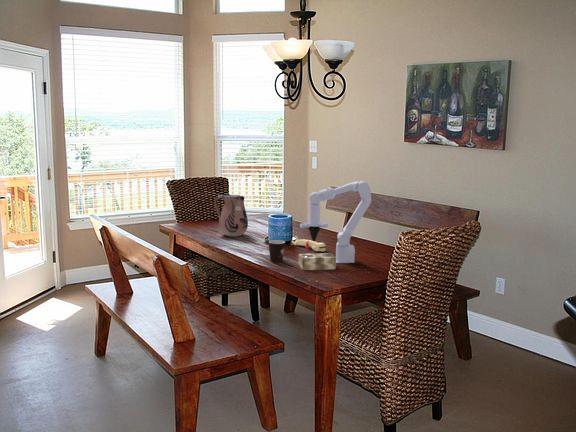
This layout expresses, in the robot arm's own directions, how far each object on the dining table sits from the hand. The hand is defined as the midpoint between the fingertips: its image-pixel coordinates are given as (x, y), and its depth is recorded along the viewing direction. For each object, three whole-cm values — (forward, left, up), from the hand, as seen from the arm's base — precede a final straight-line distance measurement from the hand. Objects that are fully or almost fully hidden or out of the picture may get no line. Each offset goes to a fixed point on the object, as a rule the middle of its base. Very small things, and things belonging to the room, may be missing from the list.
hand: (313, 240), depth 308 cm
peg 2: (-3, +14, -11) cm, 18 cm away
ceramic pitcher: (+36, -66, -11) cm, 76 cm away
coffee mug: (+18, -2, -11) cm, 21 cm away
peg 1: (+6, +14, -11) cm, 19 cm away
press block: (+1, +14, -10) cm, 18 cm away
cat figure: (-5, -27, -11) cm, 29 cm away
